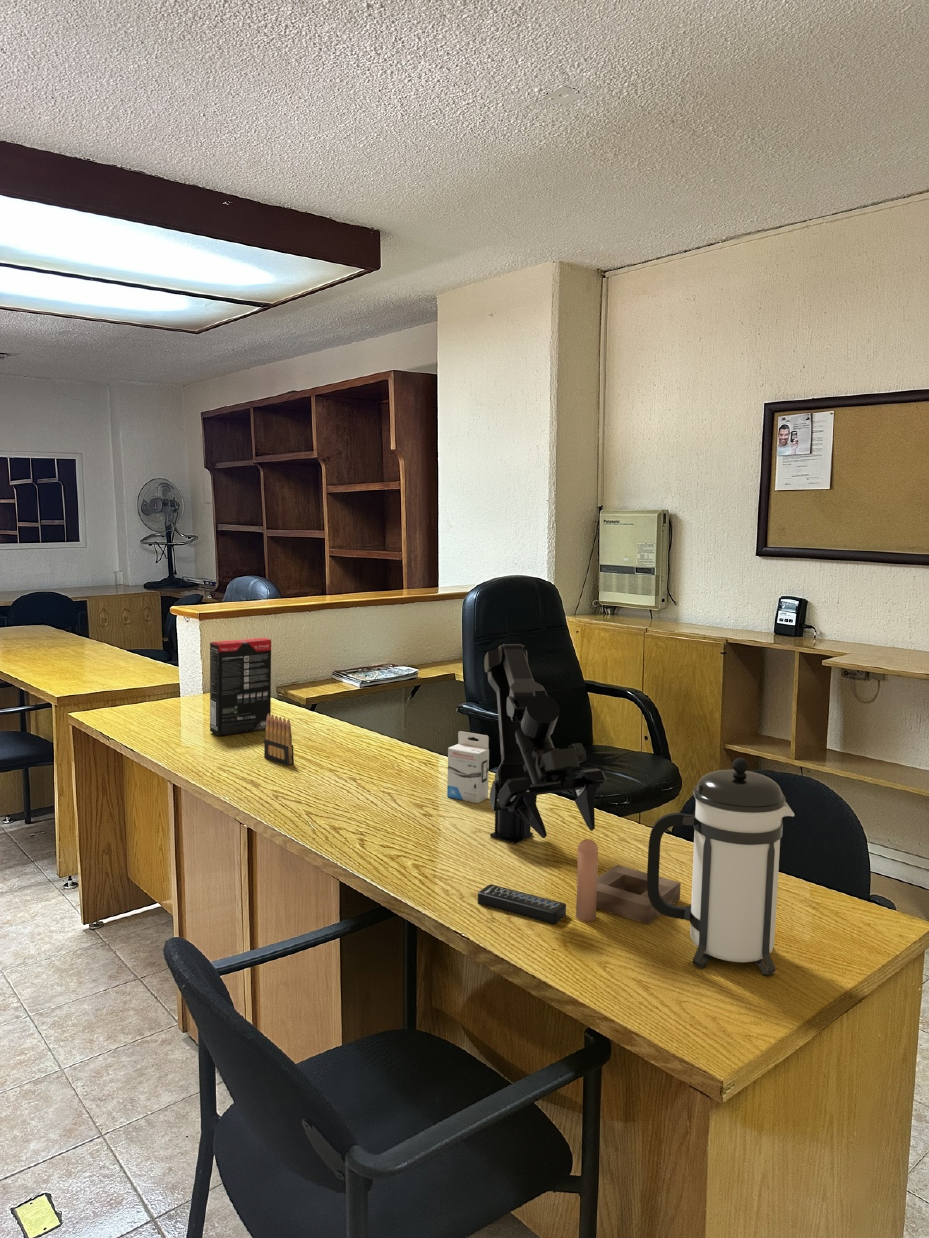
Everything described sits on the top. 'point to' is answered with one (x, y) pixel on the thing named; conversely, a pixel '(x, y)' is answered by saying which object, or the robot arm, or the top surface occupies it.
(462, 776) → the ink box
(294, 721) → the top surface
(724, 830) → the coffee press
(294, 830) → the top surface
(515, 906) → the multiport hub
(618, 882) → the brown square frame
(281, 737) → the ammunition clip
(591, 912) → the terracotta dowel
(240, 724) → the graphics card box
